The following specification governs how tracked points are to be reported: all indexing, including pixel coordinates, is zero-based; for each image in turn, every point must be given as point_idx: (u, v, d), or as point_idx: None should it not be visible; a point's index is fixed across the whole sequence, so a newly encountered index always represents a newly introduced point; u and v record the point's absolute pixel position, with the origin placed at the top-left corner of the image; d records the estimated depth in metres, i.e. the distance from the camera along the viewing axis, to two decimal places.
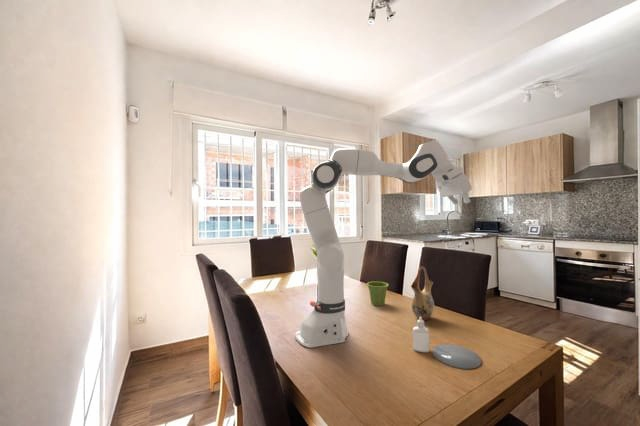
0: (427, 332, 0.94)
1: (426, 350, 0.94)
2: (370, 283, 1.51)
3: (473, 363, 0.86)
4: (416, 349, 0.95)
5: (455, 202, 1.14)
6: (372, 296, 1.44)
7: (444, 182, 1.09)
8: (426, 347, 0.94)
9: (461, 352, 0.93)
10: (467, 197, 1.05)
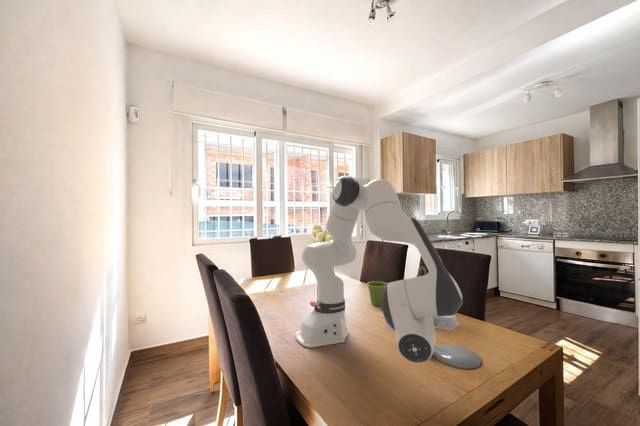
0: None
1: None
2: (370, 283, 1.51)
3: (473, 363, 0.86)
4: None
5: None
6: (372, 296, 1.44)
7: None
8: None
9: (461, 352, 0.93)
10: None
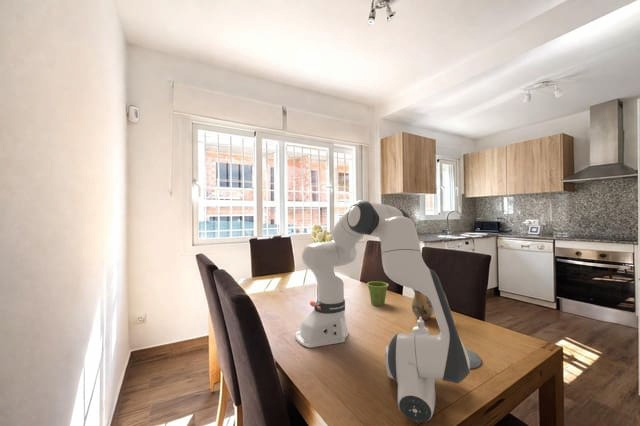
0: (427, 332, 0.94)
1: None
2: (370, 283, 1.51)
3: (473, 363, 0.86)
4: None
5: None
6: (372, 296, 1.44)
7: None
8: None
9: None
10: None
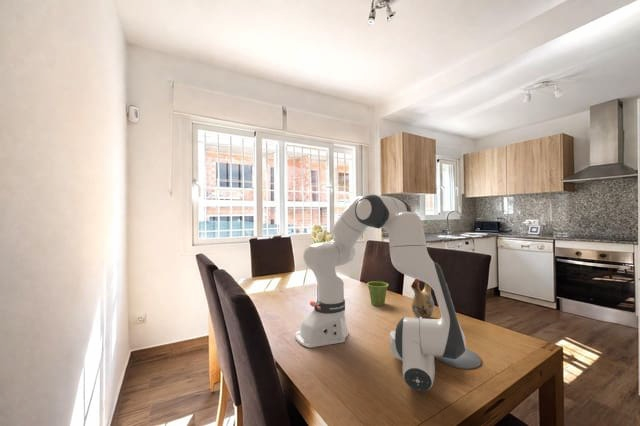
0: None
1: None
2: (370, 283, 1.51)
3: (473, 363, 0.86)
4: None
5: None
6: (372, 296, 1.44)
7: None
8: None
9: None
10: None
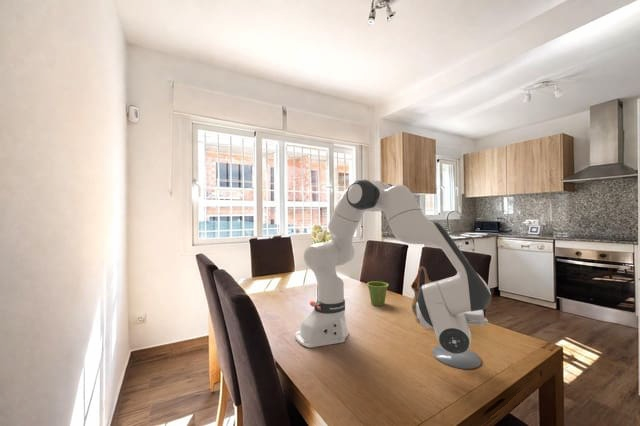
0: None
1: None
2: (370, 283, 1.51)
3: (473, 363, 0.86)
4: None
5: None
6: (372, 296, 1.44)
7: None
8: None
9: None
10: None
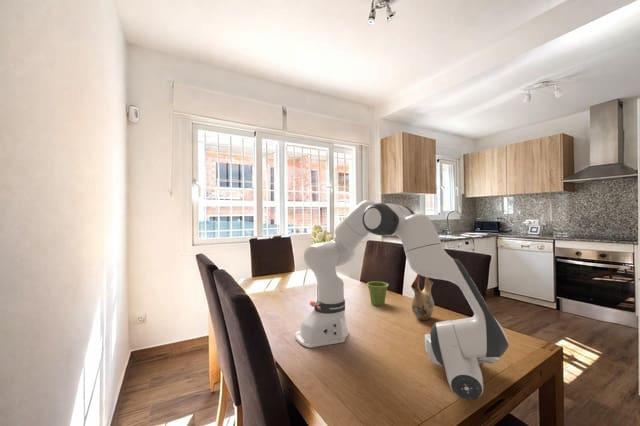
0: None
1: None
2: (370, 283, 1.51)
3: None
4: None
5: None
6: (372, 296, 1.44)
7: None
8: None
9: None
10: None
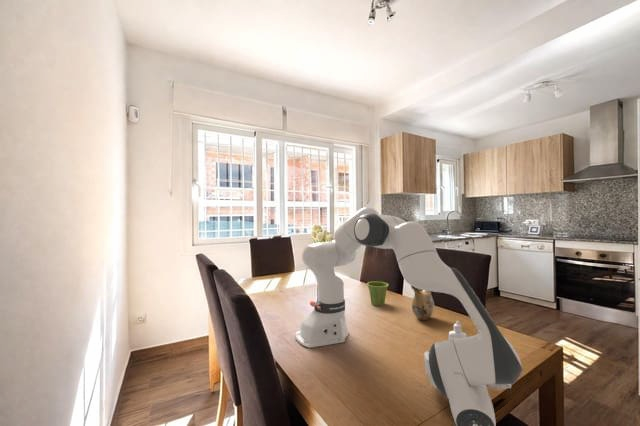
0: None
1: None
2: (370, 283, 1.51)
3: None
4: None
5: None
6: (372, 296, 1.44)
7: None
8: None
9: None
10: None
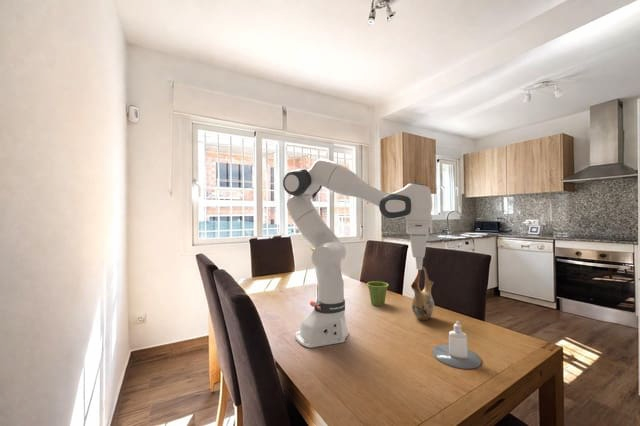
0: (465, 337, 0.89)
1: (464, 356, 0.89)
2: (370, 283, 1.51)
3: (473, 363, 0.86)
4: (453, 355, 0.90)
5: None
6: (372, 296, 1.44)
7: None
8: (463, 353, 0.89)
9: None
10: (420, 263, 0.88)
